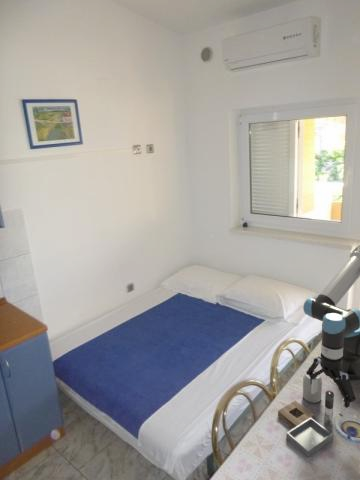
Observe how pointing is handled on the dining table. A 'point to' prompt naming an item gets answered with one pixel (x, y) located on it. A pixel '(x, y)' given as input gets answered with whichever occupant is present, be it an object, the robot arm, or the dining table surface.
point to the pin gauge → (329, 408)
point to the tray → (309, 436)
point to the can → (307, 388)
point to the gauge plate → (293, 408)
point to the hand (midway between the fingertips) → (328, 402)
